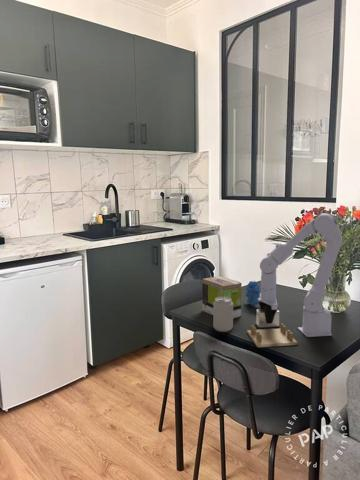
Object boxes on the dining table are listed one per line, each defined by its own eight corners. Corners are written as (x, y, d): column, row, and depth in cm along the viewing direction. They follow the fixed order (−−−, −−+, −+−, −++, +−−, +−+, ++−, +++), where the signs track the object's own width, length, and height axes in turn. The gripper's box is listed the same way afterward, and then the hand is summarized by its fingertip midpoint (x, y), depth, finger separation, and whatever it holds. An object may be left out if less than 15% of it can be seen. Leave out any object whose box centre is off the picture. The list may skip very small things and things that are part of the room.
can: (209, 328, 136) (209, 298, 135) (221, 323, 142) (221, 294, 140) (224, 334, 131) (224, 303, 129) (236, 328, 136) (237, 298, 134)
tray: (283, 330, 134) (283, 321, 133) (297, 344, 122) (297, 335, 122) (247, 332, 132) (247, 323, 132) (257, 347, 121) (257, 337, 120)
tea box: (242, 316, 149) (242, 282, 146) (223, 321, 144) (223, 286, 141) (219, 306, 161) (219, 274, 159) (201, 310, 156) (201, 278, 154)
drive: (275, 322, 141) (276, 308, 141) (279, 326, 138) (279, 311, 137) (256, 324, 141) (256, 309, 140) (259, 327, 137) (259, 312, 136)
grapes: (267, 309, 157) (268, 283, 155) (254, 311, 155) (254, 284, 153) (255, 301, 168) (255, 276, 166) (242, 302, 166) (242, 277, 164)
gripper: (252, 282, 144) (251, 314, 146) (264, 293, 129) (264, 329, 132) (269, 282, 144) (268, 314, 147) (283, 292, 130) (282, 328, 132)
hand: (267, 321), depth 139 cm, fingers closed on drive, 3 cm apart
